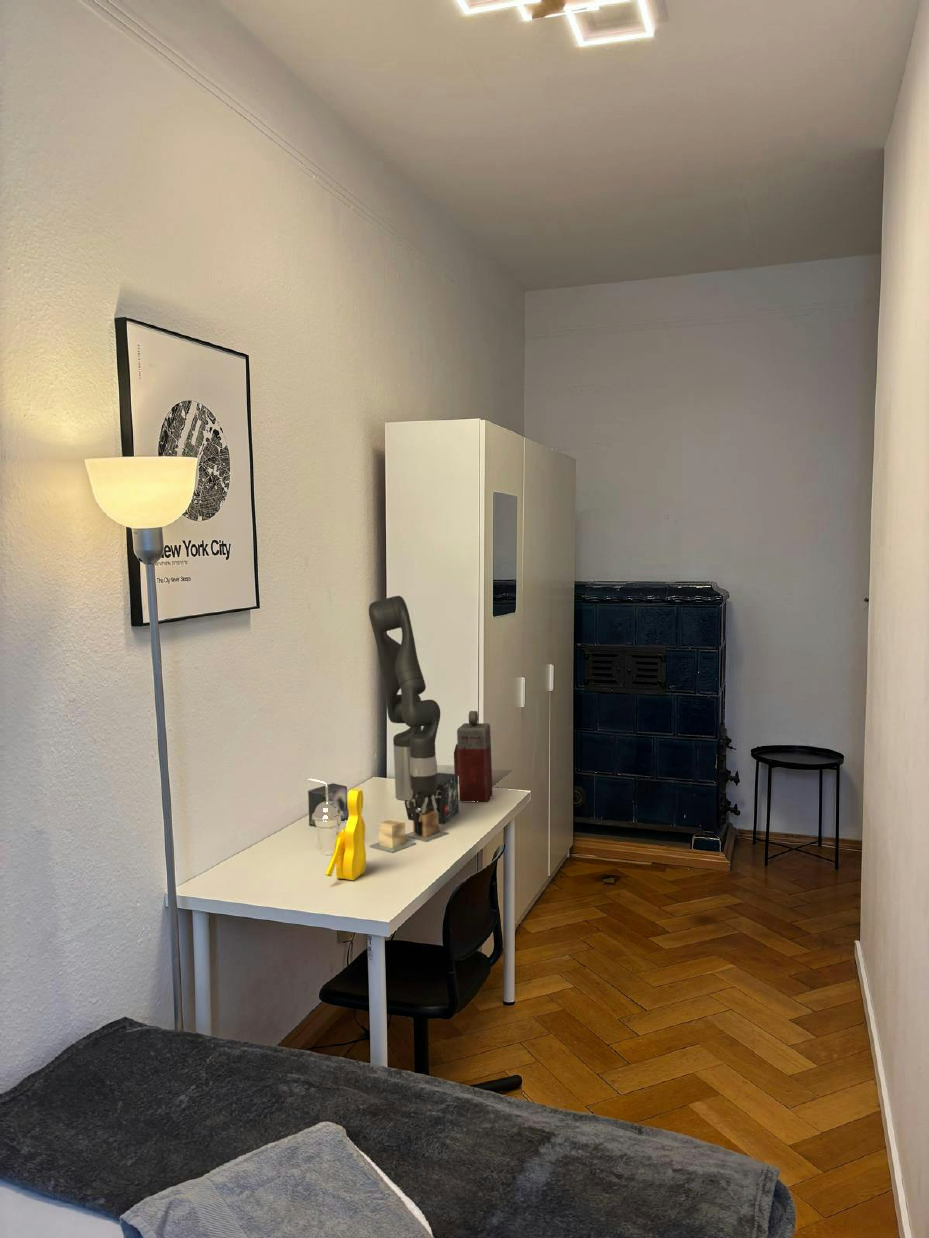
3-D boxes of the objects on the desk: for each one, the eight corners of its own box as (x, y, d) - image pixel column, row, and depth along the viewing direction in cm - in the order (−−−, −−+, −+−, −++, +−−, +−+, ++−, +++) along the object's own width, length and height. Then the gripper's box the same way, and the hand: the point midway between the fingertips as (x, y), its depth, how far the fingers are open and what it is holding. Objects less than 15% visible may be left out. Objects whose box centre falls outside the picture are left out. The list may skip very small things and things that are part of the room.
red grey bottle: (458, 794, 309) (455, 708, 306) (492, 795, 306) (489, 708, 304) (452, 801, 300) (448, 713, 298) (487, 802, 297) (484, 713, 295)
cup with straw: (327, 859, 249) (323, 784, 247) (305, 853, 255) (301, 779, 253) (352, 851, 255) (348, 777, 253) (330, 844, 261) (326, 772, 259)
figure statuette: (353, 863, 245) (349, 779, 243) (381, 866, 242) (377, 780, 241) (319, 887, 229) (315, 797, 227) (348, 890, 226) (344, 799, 224)
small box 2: (444, 824, 276) (443, 784, 275) (422, 823, 278) (421, 782, 277) (459, 812, 289) (458, 773, 288) (438, 810, 291) (436, 771, 290)
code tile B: (393, 838, 265) (393, 836, 265) (416, 844, 259) (416, 842, 259) (369, 846, 258) (369, 845, 258) (392, 852, 252) (392, 851, 252)
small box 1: (323, 829, 276) (322, 793, 275) (308, 825, 280) (306, 790, 279) (349, 819, 284) (347, 785, 284) (333, 816, 288) (332, 782, 288)
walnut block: (425, 829, 271) (425, 808, 270) (438, 832, 267) (438, 811, 267) (413, 834, 267) (412, 812, 266) (426, 837, 264) (425, 815, 263)
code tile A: (425, 828, 273) (425, 826, 273) (448, 833, 267) (448, 832, 267) (403, 836, 267) (403, 834, 267) (426, 841, 261) (426, 840, 261)
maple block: (392, 840, 262) (391, 818, 262) (405, 843, 259) (404, 821, 258) (379, 844, 258) (378, 823, 258) (392, 848, 255) (391, 826, 255)
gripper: (431, 764, 273) (433, 823, 275) (395, 775, 263) (398, 835, 264) (450, 768, 268) (453, 827, 270) (415, 779, 258) (417, 840, 259)
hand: (426, 831), depth 267 cm, fingers closed on walnut block, 5 cm apart
